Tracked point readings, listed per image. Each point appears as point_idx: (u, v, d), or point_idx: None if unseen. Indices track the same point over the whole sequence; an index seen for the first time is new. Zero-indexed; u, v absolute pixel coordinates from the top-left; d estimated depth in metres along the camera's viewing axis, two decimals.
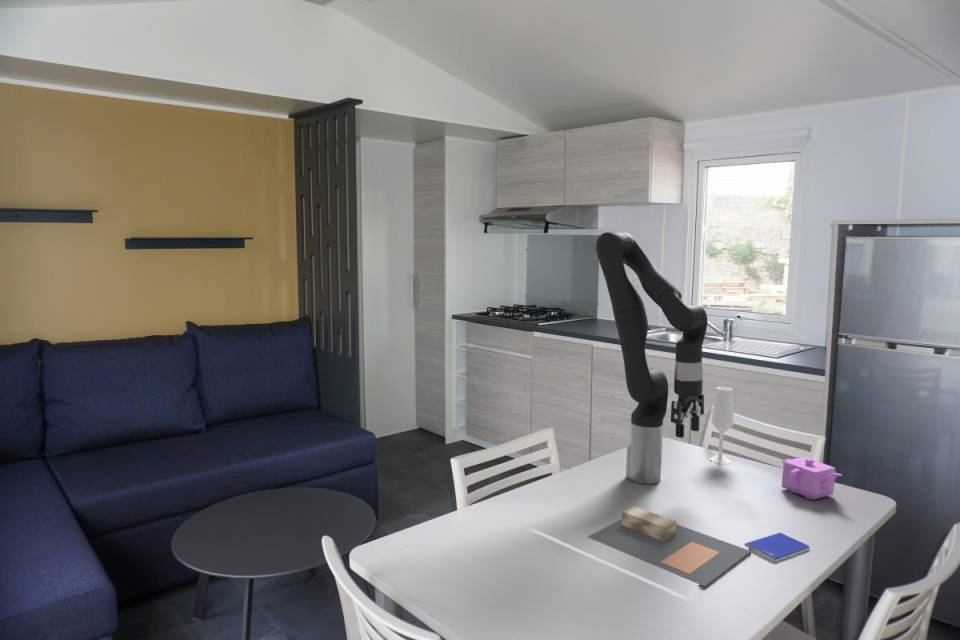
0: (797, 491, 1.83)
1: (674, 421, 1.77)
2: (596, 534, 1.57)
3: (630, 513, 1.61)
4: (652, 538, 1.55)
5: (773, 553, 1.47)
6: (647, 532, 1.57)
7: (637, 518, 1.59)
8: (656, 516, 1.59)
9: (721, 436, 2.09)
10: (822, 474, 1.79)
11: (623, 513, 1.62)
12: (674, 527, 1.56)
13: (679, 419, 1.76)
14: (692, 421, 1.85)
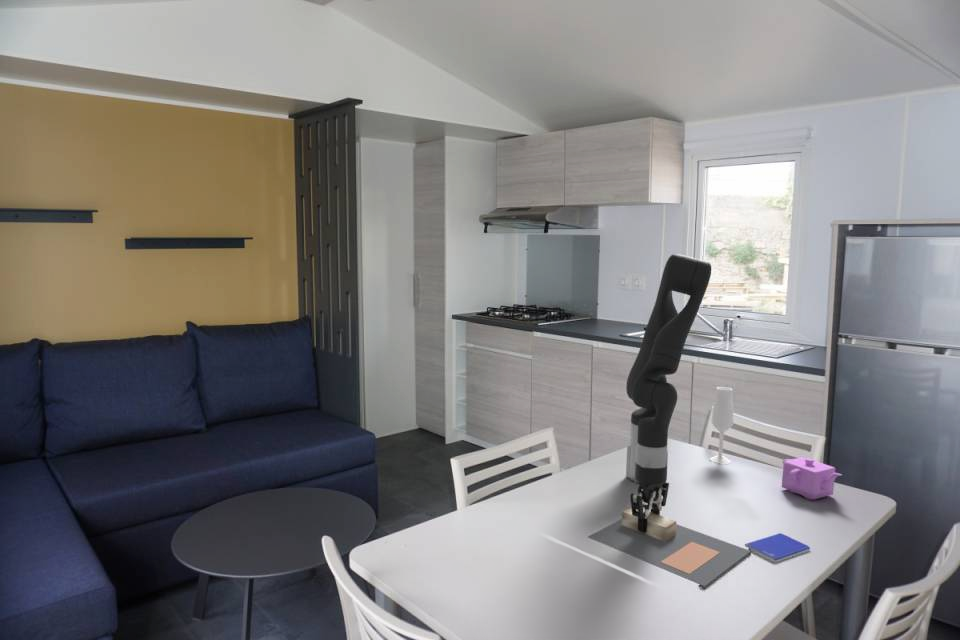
0: (797, 491, 1.83)
1: (636, 515, 1.55)
2: (596, 534, 1.57)
3: (630, 513, 1.61)
4: (652, 538, 1.55)
5: (774, 554, 1.47)
6: (647, 532, 1.57)
7: (637, 518, 1.59)
8: (656, 516, 1.59)
9: (721, 436, 2.09)
10: (822, 474, 1.79)
11: (623, 513, 1.62)
12: (674, 527, 1.56)
13: (641, 513, 1.55)
14: None
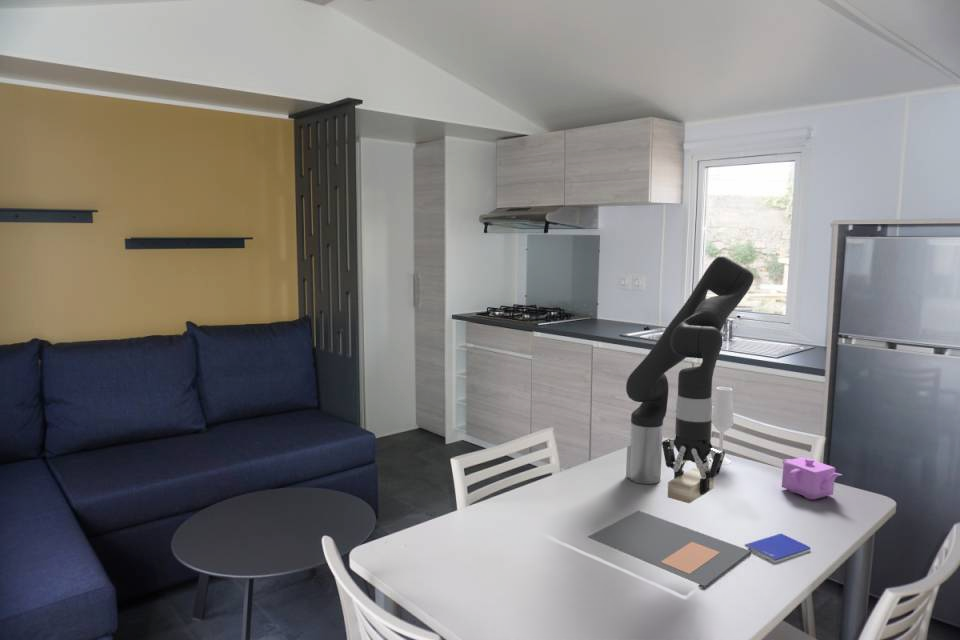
0: (797, 491, 1.83)
1: None
2: (596, 534, 1.57)
3: (692, 471, 1.49)
4: (652, 538, 1.55)
5: (774, 554, 1.47)
6: None
7: None
8: (693, 480, 1.43)
9: (721, 436, 2.09)
10: (822, 474, 1.79)
11: None
12: (686, 492, 1.39)
13: (668, 461, 1.47)
14: None
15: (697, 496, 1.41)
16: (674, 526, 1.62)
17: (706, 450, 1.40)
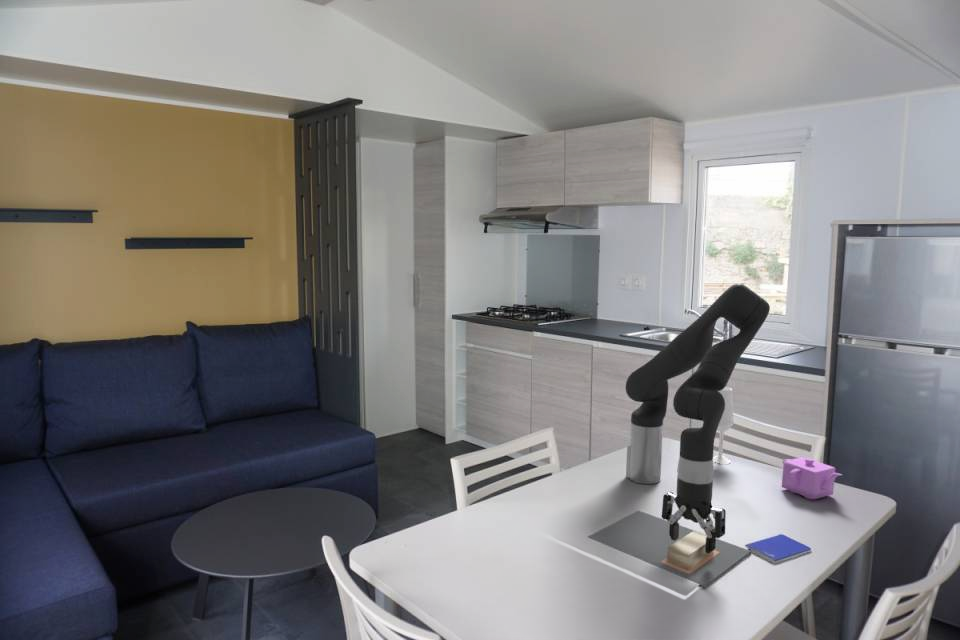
0: (797, 491, 1.83)
1: None
2: (596, 534, 1.57)
3: (693, 533, 1.50)
4: (652, 538, 1.55)
5: (774, 555, 1.47)
6: None
7: None
8: (693, 546, 1.44)
9: (721, 436, 2.09)
10: (822, 474, 1.79)
11: None
12: (685, 559, 1.41)
13: (663, 513, 1.49)
14: None
15: (696, 562, 1.43)
16: None
17: (706, 511, 1.41)
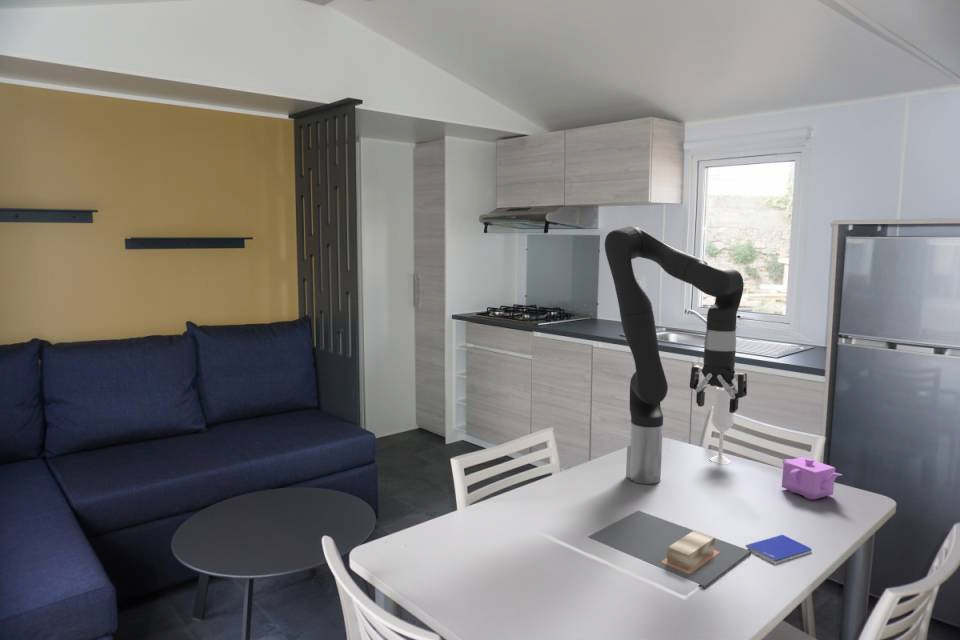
0: (797, 491, 1.83)
1: None
2: (596, 534, 1.57)
3: (693, 533, 1.50)
4: (652, 538, 1.55)
5: (774, 555, 1.47)
6: None
7: None
8: (693, 546, 1.44)
9: (721, 436, 2.09)
10: (822, 474, 1.79)
11: None
12: (685, 559, 1.41)
13: (691, 383, 1.71)
14: None
15: (696, 562, 1.43)
16: (674, 526, 1.62)
17: (730, 375, 1.63)
